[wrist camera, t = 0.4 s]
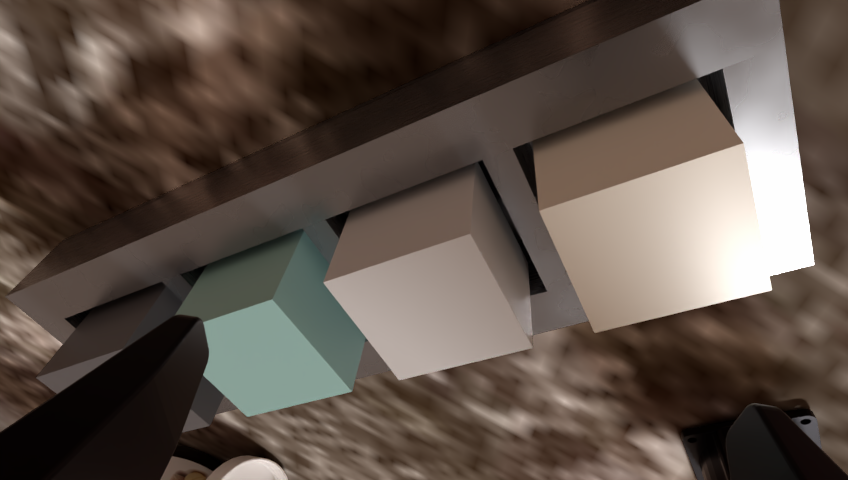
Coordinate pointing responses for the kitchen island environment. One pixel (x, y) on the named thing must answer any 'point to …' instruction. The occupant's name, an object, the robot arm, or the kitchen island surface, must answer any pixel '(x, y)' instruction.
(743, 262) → the key ivory
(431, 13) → the kitchen island surface
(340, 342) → the key teal
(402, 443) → the kitchen island surface
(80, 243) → the key panel
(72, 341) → the key black
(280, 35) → the kitchen island surface
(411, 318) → the key grey
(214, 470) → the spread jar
